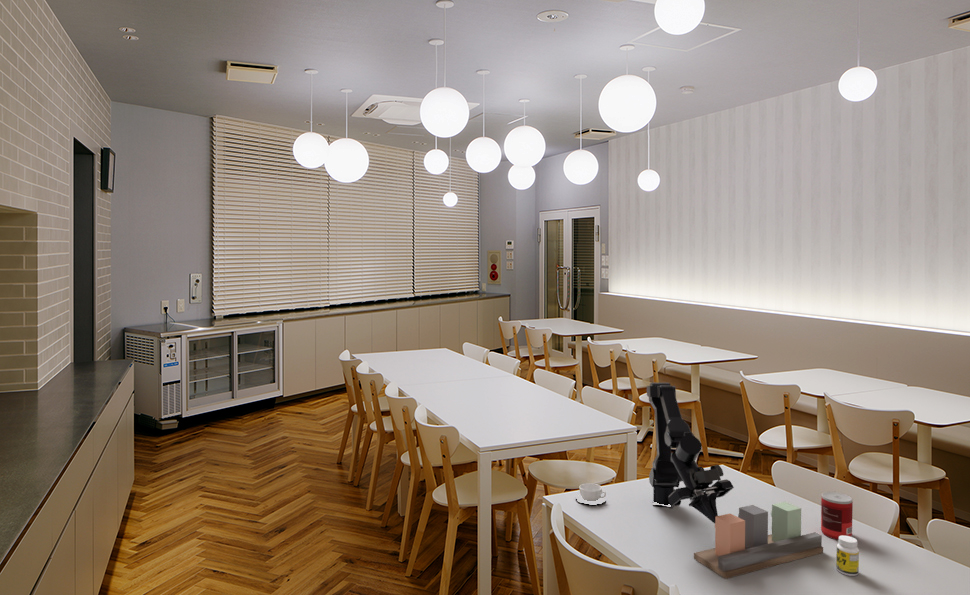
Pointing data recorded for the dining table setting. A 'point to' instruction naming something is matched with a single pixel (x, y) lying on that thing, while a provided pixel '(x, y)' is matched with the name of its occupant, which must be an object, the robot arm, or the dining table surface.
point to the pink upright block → (729, 534)
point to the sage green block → (785, 521)
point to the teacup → (591, 491)
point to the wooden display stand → (761, 555)
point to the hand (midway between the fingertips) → (716, 522)
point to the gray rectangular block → (754, 525)
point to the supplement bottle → (847, 556)
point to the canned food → (836, 514)
